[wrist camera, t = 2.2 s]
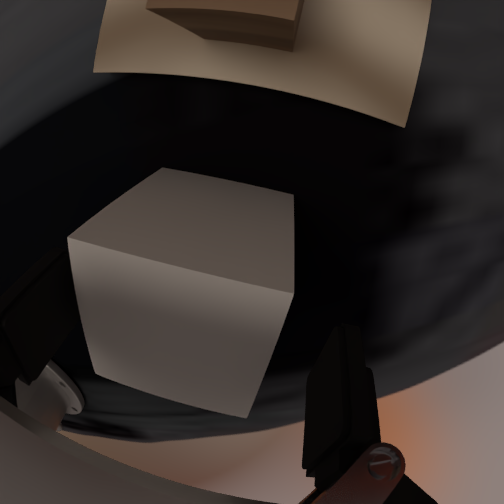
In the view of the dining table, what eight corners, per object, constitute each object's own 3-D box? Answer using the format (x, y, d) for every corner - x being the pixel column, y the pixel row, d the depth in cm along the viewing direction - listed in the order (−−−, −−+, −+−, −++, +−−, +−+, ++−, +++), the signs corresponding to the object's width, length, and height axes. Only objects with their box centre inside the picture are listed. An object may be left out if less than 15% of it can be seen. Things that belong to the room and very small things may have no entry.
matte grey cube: (264, 301, 18) (246, 418, 11) (156, 275, 18) (95, 373, 11) (293, 194, 15) (293, 293, 8) (162, 167, 15) (67, 237, 8)
